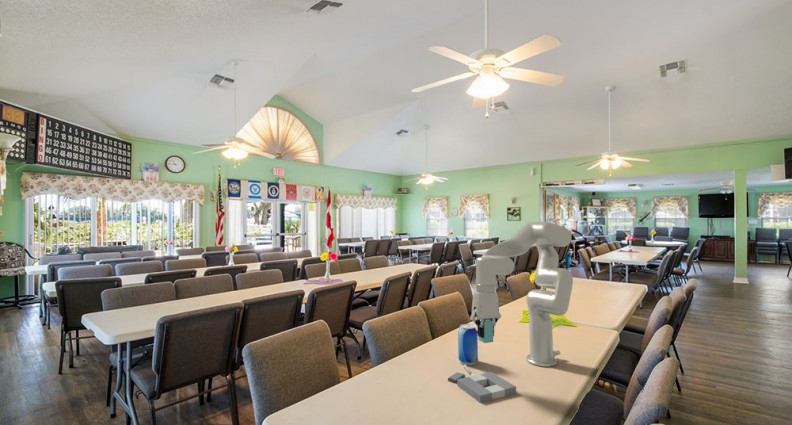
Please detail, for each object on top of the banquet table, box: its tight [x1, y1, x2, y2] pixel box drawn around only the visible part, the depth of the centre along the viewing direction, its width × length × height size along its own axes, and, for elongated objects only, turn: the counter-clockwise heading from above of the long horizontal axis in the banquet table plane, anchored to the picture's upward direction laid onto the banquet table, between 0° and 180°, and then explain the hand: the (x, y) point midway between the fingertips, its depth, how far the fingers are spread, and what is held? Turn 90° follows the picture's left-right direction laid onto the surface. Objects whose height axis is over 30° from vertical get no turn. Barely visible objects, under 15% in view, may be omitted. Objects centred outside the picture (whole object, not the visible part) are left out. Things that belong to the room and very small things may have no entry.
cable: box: [462, 364, 476, 376], centre depth 146 cm, size 11×1×1 cm, turn 9°
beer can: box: [457, 323, 479, 366], centre depth 157 cm, size 8×8×16 cm
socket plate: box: [456, 371, 517, 403], centre depth 131 cm, size 16×14×2 cm
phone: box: [447, 372, 466, 384], centre depth 140 cm, size 7×4×1 cm, turn 139°
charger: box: [477, 319, 494, 344], centre depth 137 cm, size 4×4×8 cm
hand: (485, 335), depth 137 cm, fingers closed on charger, 4 cm apart
